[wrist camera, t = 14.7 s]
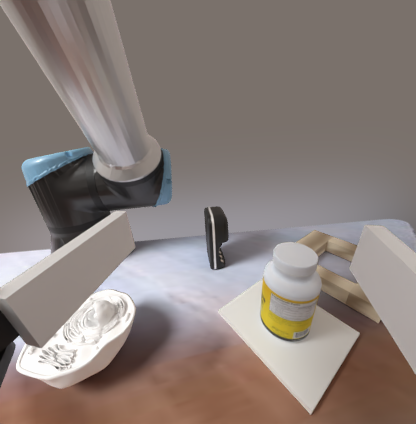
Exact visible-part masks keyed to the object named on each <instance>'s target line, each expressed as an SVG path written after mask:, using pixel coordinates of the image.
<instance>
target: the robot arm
mask: <svg viewBox="0 0 416 424" xmlns="http://www.w3.org/2000/svg"><path fill="white" fill-rule="evenodd" d="M0 6H1V7H2V9H3V10H4V12H5V13H6V15H7V16H8V18H9V19H10V21H11V23H12V24H13V26H14V27H15V29H16V30H17V32H18V33H19V34H20V36H21V38H22V39H23V41H24V43H25V44H26V46H27V47H28V49H29V50H30V52H31V53H32V55H33V56H34V58H35V59H36V61H37V62H38V64H39V65H40V67H41V69H42V70H43V72H44V73H45V75H46V76H47V78H48V79H49V81H50V83H51V84H52V85H53V87H54V89H55V90H56V92H57V93H58V95H59V96H60V98H61V99H62V101H63V102H64V104H65V105H66V107H67V109H68V110H69V112H70V113H71V115H72V116H73V118H74V119H75V121H76V123H77V124H78V125H79V127H80V129H81V130H82V132H83V133H84V135H85V136H86V138H87V139H88V141H89V143H90V144H91V146H92V147H93V149H94V150H95V151H94V152H93V151H92V150H91V148H90V147H85V148H80V149H75V150H70V151H65V152H60V153H56V154H51V155H46V156H41V157H36V158H31V159H28V160H26V161H25V162H24V163H23V164H22V171H23V174H24V176H25V179H26V182H27V184H26V185H27V187H29V189H30V191H31V193H32V195H33V197H34V200H35V202H36V204H37V206H38V208H39V210H40V212H41V214H42V216H43V219H44V221H45V223H46V225H47V227H48V229H49V231H50V234H51V254H50V255H49V256H47V257H46V258H44V259H43V260H41V261H40V262H38V263H37V264H35V265H34V266H32V267H31V268H29V269H28V270H26V271H25V272H23V273H22V274H20V275H19V276H17V277H16V278H14V279H13V280H11V281H10V282H8V283H7V284H5V285H4V286H2V287H1V288H0V387H1V384H2V382H3V379H4V377H5V374H6V371H7V369H8V366H9V364H10V361H11V358H12V356H13V353H14V350H15V343H14V342H13V341H14V340H15V339H16V338H17V337H18V336H19V335H20V337H21V338H22V339H23V340H24V342H25V343H26V344H27V345H30V346H34V347H38V348H43V346H44V345H45V344H46V343H47V342H48V341H49V340H50V339H51V338H52V337H53V336H54V335H55V334H56V332H57V331H58V330H59V329H60V328H61V327H62V326H63V325H64V324H65V323H66V322H67V321H68V320H69V318H70V317H71V316H72V315H73V314H74V313H75V312H76V311H77V310H78V309H79V308H80V307H81V306H82V304H83V303H84V302H85V301H86V300H87V299H88V298H89V297H90V296H91V295H92V294H93V293H94V291H95V290H96V289H97V288H98V287H99V286H100V285H101V284H102V283H103V282H104V281H105V280H106V279H107V277H108V276H109V275H110V274H111V273H112V272H113V271H114V270H115V269H116V268H117V267H118V266H119V265H120V263H121V262H122V261H123V260H124V259H125V258H126V257H127V256H128V255H129V254H130V253H131V252H132V250H133V249H134V248H135V243H134V239H133V236H132V232H131V228H130V224H129V220H128V217H127V213H126V212H122V211H115V212H114V213H112V214H110V211H113V210H121V209H131V208H140V207H150V206H152V207H156V206H157V205H163V204H167V203H169V202H170V200H171V198H172V181H171V160H170V153H169V151H168V150H167V149H162V148H160V146H159V144H158V142H157V141H156V140H155V139H154V138H153V137H151V136H150V135H148V134H147V130H146V127H145V123H144V119H143V116H142V113H141V109H140V105H139V102H138V98H137V94H136V91H135V87H134V84H133V80H132V76H131V73H130V70H129V66H128V62H127V59H126V56H125V51H124V48H123V44H122V41H121V37H120V34H119V30H118V26H117V23H116V19H115V16H114V12H113V8H112V5H111V2H110V0H0ZM349 269H350V271H351V272H352V274H353V276H354V277H355V279H356V280H357V282H358V284H359V285H360V287H361V288H362V290H363V291H364V293H365V295H366V296H367V298H368V299H369V301H370V303H371V304H372V306H373V307H374V309H375V311H376V312H377V314H378V315H379V317H380V319H381V320H382V322H383V323H384V325H385V326H386V328H387V330H388V331H389V333H390V334H391V336H392V338H393V339H394V341H395V342H396V344H397V346H398V347H399V349H400V350H401V352H402V354H403V355H404V357H405V358H406V360H407V361H408V363H409V365H410V366H411V368H412V369H413V371H414V373H415V374H416V253H415V252H414V251H413V250H412V249H411V248H409V247H408V246H407V245H406V244H405V243H403V242H402V241H401V240H400V239H399V238H397V237H396V236H395V235H394V234H393V233H391V232H390V231H389V230H388V229H387V228H385V227H384V226H377V225H365V226H364V228H363V231H362V234H361V237H360V240H359V242H358V245H357V248H356V251H355V254H354V256H353V259H352V262H351V265H350V268H349Z"/></svg>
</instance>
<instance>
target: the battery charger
mask: <svg viewBox="0 0 416 424" xmlns="http://www.w3.org/2000/svg"><path fill="white" fill-rule="evenodd" d="M204 214H205V228H206V242H207V252H208V257H209V262H210V267H211V269H217V268H222V267H224V266H225V259H224V256H223V253H222V250H221V249H220V246H221V245H222V243H224V242H227V241H228V222H227V218H226V216H225V214H224V212H223V210H222V209H221V208H220V207H207V208H205V210H204Z"/></svg>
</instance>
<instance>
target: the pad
mask: <svg viewBox="0 0 416 424" xmlns="http://www.w3.org/2000/svg"><path fill="white" fill-rule="evenodd" d="M262 284H263V278H262V279H261V280H260V281H258V282H257V283H255V284H254V285H253V286H251V287H250V288H249V289H247V290H246V291H244V292H243V293H242V294H240V295H239V296H237V297H236V298H235V299H233V300H232V301H231V302H229V303H228V304H226V305H225V306H224V307H222V308H221V309H219V310H218V313H219V314H220V315H221V316H222V318H223V319H224V320H225V321H226V322H227V323H228V324H229V325H230V326H231V327H232V329H233V330H234V331H235V332H236V333H237V334H238V335H239V336H240V337H241V338H242V340H243V341H244V342H245V343H246V344H247V345H248V346H249V347H250V348H251V349H252V351H253V352H254V353H255V354H256V355H257V356H258V357H259V358H260V359H261V361H262V362H263V363H264V364H265V365H266V366H267V367H268V368H269V369H270V370H271V372H272V373H273V374H274V375H275V376H276V377H277V378H278V379H279V380H280V381H281V383H282V384H283V385H284V386H285V387H286V388H287V389H288V390H289V391H290V393H291V394H292V395H293V396H294V397H295V398H296V399H297V400H298V401H299V402H300V404H301V405H302V406H303V407H304V408H305V409H306V410H307V411H308V412H309V413H310V415H311V414H312V412H313V411H314V409H315V407H316V406H317V404H318V403H319V401H320V399H321V398H322V396H323V394H324V393H325V391H326V389H327V388H328V386H329V384H330V383H331V381H332V379H333V378H334V376H335V374H336V373H337V371H338V370H339V368H340V366H341V365H342V363H343V361H344V360H345V358H346V356H347V355H348V353H349V351H350V350H351V348H352V346H353V345H354V343H355V341H356V340H357V338H358V337H359V334H360V333H359V332H357V331H356V330H354V329H353V328H351V327H350V326H348V325H346V324H345V323H343V322H342V321H340V320H339V319H337V318H336V317H334V316H333V315H331V314H330V313H328V312H327V311H325V310H323V309H322V308H320V307H319V306H316V309H315V313H314V316H313V320H312V324H311V328H310V332H309V334H308V336H307V337H306V338H305V339H304V340H302V341H300V342H296V343H288V342H284V341H281V340H279V339H277V338H275V337H274V336H272V335H271V334H270V333H269V332H268V331H267V330H266V329H265V327H264V326H263V324H262V321H261V318H260V306H261V295H262Z"/></svg>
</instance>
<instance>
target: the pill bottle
mask: <svg viewBox="0 0 416 424" xmlns="http://www.w3.org/2000/svg"><path fill="white" fill-rule="evenodd" d="M317 265H318V256H317V254H316V253H315V252H314V251H313V250H312V249H311V248H309V247H307V246H305V245H303V244H300V243H295V242H284V243H280V244H278V245H276V246H275V248H274V250H273V260H271V261H269V262H268V263H267V265H266V266H265V268H264V273H263V284H262V295H261V306H260V318H261V321H262V324H263V326H264V327H265V329H266V330H267V331H268V332H269V333H270V334H271V335H272V336H274V337H275V338H277V339H279V340H281V341H284V342H288V343H296V342H300V341H302V340H304V339H305V338H306V337H307V336H308V334H309V332H310V328H311V324H312V320H313V316H314V313H315V309H316V306H317V302H318V298H319V295H320V291H321V287H322V283H321V278H320V276H319V274H318V272H317V271H316V269H317Z"/></svg>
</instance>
